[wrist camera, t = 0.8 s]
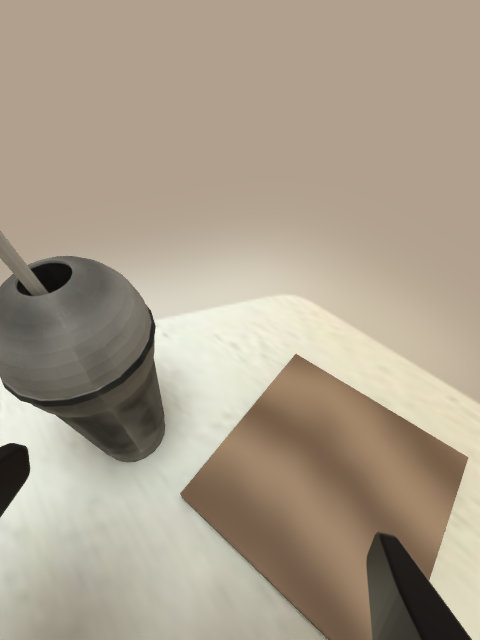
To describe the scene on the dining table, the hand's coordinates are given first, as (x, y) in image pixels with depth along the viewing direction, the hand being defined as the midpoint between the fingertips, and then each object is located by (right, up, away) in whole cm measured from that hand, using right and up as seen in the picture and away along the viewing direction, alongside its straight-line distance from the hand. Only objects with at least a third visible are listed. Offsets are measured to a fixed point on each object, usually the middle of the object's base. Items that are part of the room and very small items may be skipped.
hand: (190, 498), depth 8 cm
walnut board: (+7, -7, +14) cm, 17 cm away
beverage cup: (-7, -4, +17) cm, 18 cm away
